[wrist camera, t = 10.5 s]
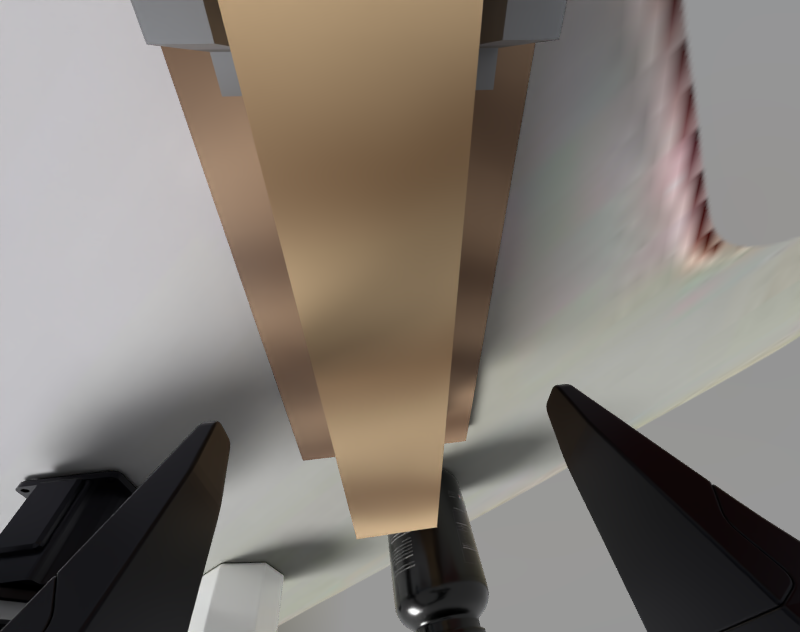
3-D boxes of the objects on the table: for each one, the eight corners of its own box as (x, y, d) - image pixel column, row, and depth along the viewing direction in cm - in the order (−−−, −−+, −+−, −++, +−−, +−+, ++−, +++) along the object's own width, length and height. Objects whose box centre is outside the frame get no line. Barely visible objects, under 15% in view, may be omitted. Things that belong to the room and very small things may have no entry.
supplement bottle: (402, 511, 33) (425, 692, 23) (370, 482, 29) (381, 686, 19) (468, 488, 32) (519, 669, 22) (443, 455, 28) (492, 658, 18)
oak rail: (419, 439, 21) (436, 527, 17) (355, 447, 20) (356, 539, 16) (427, -120, 8) (511, -323, 4) (248, -122, 7) (127, -347, 3)
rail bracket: (462, 429, 26) (490, 519, 21) (304, 447, 25) (292, 548, 20) (580, -319, 8) (995, -1013, 3) (39, -366, 7) (-844, -1608, 2)
